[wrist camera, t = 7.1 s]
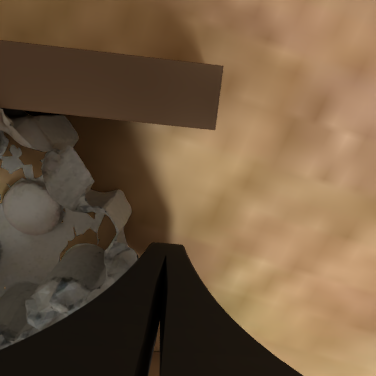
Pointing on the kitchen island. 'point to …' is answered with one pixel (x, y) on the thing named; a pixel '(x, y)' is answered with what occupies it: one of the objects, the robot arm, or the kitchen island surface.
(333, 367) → the kitchen island surface
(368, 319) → the kitchen island surface
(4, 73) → the dock
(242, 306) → the kitchen island surface
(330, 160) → the kitchen island surface
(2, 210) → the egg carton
